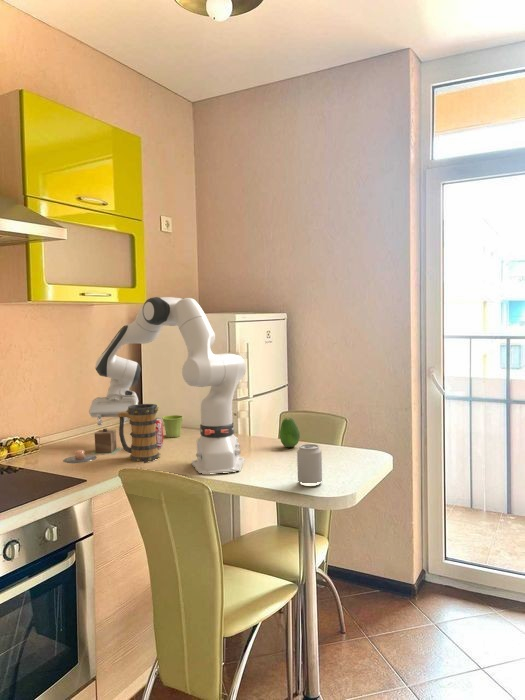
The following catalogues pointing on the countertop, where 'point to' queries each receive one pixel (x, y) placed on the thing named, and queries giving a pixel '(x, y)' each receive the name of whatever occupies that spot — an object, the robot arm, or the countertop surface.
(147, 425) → the mug
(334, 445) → the countertop surface
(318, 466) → the can
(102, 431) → the cover box
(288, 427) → the avocado
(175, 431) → the plant pot
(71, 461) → the slate board
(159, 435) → the soda can
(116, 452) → the mat
